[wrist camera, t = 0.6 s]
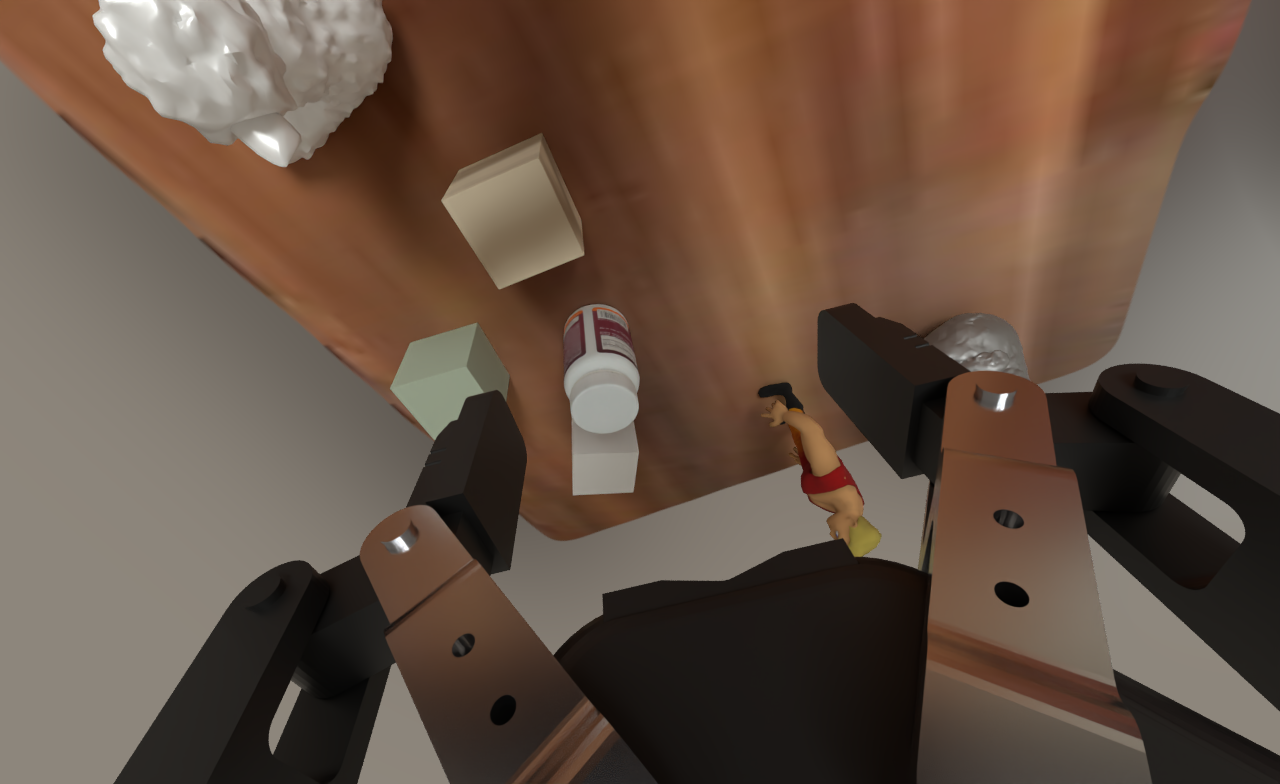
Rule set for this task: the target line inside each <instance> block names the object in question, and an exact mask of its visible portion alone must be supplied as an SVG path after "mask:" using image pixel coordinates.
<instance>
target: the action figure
mask: <svg viewBox="0 0 1280 784" xmlns="http://www.w3.org/2000/svg"><path fill="white" fill-rule="evenodd" d="M758 394H759V396H760V397H769V396H773V395H782V396H784V397H785V399H786V407H785V406H784V405H783V404H782V403H781V402H780V401H779V400H776V401H775V402H776V404H775V403H772V407H773V409H772V408H769V407H766V410H767V411H769V412H770V414H761V416H762V417H766V418H772V419H774V422H770V423H769V426H771V427H775V426H778V425H779V424H781V425H782V424H785V423H788V426H789V428H790V430H791V433H792V437H793V440H794V443H795V445H796V447H797V448H798V449H797V448H796V447H794V448H793V449H794V451H795V452H796V453H797V454H798V455H799V457H798V456H795V455H794V454H792V453H789V456H790V457H792V458H794V459H795V460H794V461H795V462H797V463H798V464H799V465H801V466H802V469H803V473H802V475H801V487H802V490H803V492H804V493H806V494H807V495H808V498H809V501H810V502H812V503H813V504H815V505H816V506H818V507H820V508H822V509H824V510H826V511H829V512H832V513H835V514H833V515H832V516H830V517H829V518H828V519H827V523H828V525H829V528H830V530H831V532H830V535H831V536H832V537H833V538H834V539H835V540H837V539H841V538H843V539H844V540H845V542H846V544H847V545H848V547H849V549H850V550H851V552H852V554H853V555H854V557H863V556H864V555H865V554H867V553H869V552H870V551H871V550H873V549H874V548H876V547H877V545H878V543H879V542H880V539H881V534H880V533H879V531H878V530H877V529H876V528H875V527H874V526H872V525H871V524H870V523H869V522H868V521H867V520H866V519H865V518H864V517H863V516H862V515H863V505H864V501H863V498H862V495H861V493H860V491H859V489H858V487H857V485H856V484H855V481H854V480H853V478H852V476H851V474H850V473H849V471H848V470H847V469H846V467H845V466H844V465H843V462H842V460H841V459H840V458H839V457H838V456H837V454H836V451H835V450H834V448H833V446H832V445H831V444H830V443H829V442H828V441H827V439H826V438H825V436H824V432H823V429H822V428H821V426H820V425H819V424H817V423H816V422H815V421H814V420H813V419H812V418H811V417H810V416H808V415H806V414H805V413H804V411H803V405H802V404H801V403H800V402H799V400H798V399H797V398H796V397H795V395H794V394H793V393H792V387H791V385H790V384H789V383H780V384H773V385H769V386H765V387H763V388H761V389H760V390H759V392H758Z"/></svg>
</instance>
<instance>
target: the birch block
mask: <svg viewBox="0 0 1280 784" xmlns="http://www.w3.org/2000/svg"><path fill="white" fill-rule="evenodd" d="M441 201H442V203H443V204H444V206H445V207H446V209H447V210H448V212H449V214H450V215H451V217H452V218H453V220H454V221H455V223H456V224H457V226H458V227H459V229H460V230H461V232H462V234H463V235H464V237H465V238H466V240H467V241H468V243H469V244H470V246H471V247H472V249H473V251H474V252H475V254H476V255H477V257H478V258H479V260H480V261H481V263H482V264H483V266H484V267H485V269H486V271H487V272H488V274H489V275H490V277H491V278H492V280H493V281H494V283H495V284H496V286H497V287H498V289H502V288H504V287H507V286H509V285H512V284H514V283H517V282H519V281H522V280H524V279H527V278H529V277H532V276H534V275H536V274H539V273H541V272H544V271H546V270H549V269H551V268H554V267H556V266H559V265H561V264H564V263H566V262H569V261H571V260H574V259H576V258H579V257H581V256H583V255H584V245H583V233H582V222H581V218H580V216H579V214H578V212H577V209H576V207H575V205H574V203H573V200H572V198H571V196H570V194H569V192H568V189H567V187H566V185H565V183H564V180H563V178H562V176H561V174H560V171H559V169H558V167H557V165H556V163H555V160H554V158H553V156H552V154H551V151H550V149H549V147H548V145H547V143H546V140H545V138H544V136H543V134H542V133H540V134H538V135H536V136H534V137H532V138H529V139H527V140H525V141H523V142H520V143H518V144H516V145H514V146H511V147H509V148H507V149H505V150H503V151H500V152H498V153H496V154H494V155H491V156H489V157H487V158H485V159H482V160H480V161H478V162H476V163H474V164H471V165H469V166H467V167H465V168H462V169H460V170H459V171H458V173H457V174H456V176H455V178H454V180H453V181H452V183H451V185H450V186H449V188H448V190H447V192H446V193H445V195H444V197H443V198H442V200H441Z"/></svg>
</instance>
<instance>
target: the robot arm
mask: <svg viewBox="0 0 1280 784" xmlns="http://www.w3.org/2000/svg"><path fill="white" fill-rule="evenodd" d="M818 373H819V377H820V380H821V383H822V385H823V387H824V389H825V390H826V391H827V393H828V394H829V395H830V396H831V397H832V398H833V400H834V401H835V402H836V403H837V404H838V405H839V407H840V408H841V409H842V410H843V411H844V412H845V414H846V415H847V416H848V417H849V418H850V419H851V421H852V422H853V423H854V424H855V425H856V426H857V428H858V429H859V430H860V431H861V432H862V434H863V435H864V436H865V437H866V438H867V439H868V441H869V442H870V443H871V444H872V445H873V446H874V448H875V449H876V450H877V451H878V452H879V453H880V454H881V456H882V457H883V458H884V459H885V460H886V462H887V463H888V464H889V465H890V466H891V467H892V469H893V470H894V471H895V472H896V473H897V474H898V476H899V477H900V478H901V479H904V478H908V477H913V476H917V475H921V474H925V475H926V476H927V477H928V479H929V480H930V481H929V486H928V491H927V500H926V508H925V516H924V524H923V532H922V540H921V550H920V557H919V564H918V569H915V568H913V567H910V566H906V565H903V564H900V563H897V562H892V561H888V560H883V559H877V558H868V557H854V555H853V554H852V552H851V550H850V549H849V547H848V545H847V544H846V542H845V540H844V539H843V538H841V539H837V540H833V541H828V542H824V543H820V544H815V545H811V546H807V547H802V548H798V549H794V550H790V551H785V552H782V553H780V554H778V555H777V556H775V557H773V558H771V559H769V560H767V561H765V562H763V563H761V564H759V565H757V566H755V567H753V568H751V569H749V570H747V571H745V572H743V573H741V574H740V575H737V576H736V577H734V578H731V579H729V580H725V581H664V580H661V581H657V582H652V583H648V584H644V585H639V586H635V587H631V588H626V589H623V590H618V591H614V592H609V593H605V594H603V615H601V616H600V617H598V618H595V619H594V620H593V621H591V622H589V623H588V624H586V625H585V626H583V627H582V628H581V629H580V630H579V631H577V632H576V633H575V634H573V635H572V636H571V637H570V638H569V639H568V640H567V641H566V642H565V643H564V644H563V645H562V646H561V647H560V648H559V649H558V650H557V652H556V653H555V654H554V655H552V653H551V652H550V651H549V650H548V648H547V647H546V646H545V645H544V643H543V642H542V641H541V640H540V638H539V637H538V636H537V635H536V634H535V632H534V631H533V630H532V629H531V627H530V626H529V625H528V624H527V622H526V621H525V620H524V618H523V617H522V616H521V615H520V614H519V612H518V611H517V610H516V609H515V607H514V606H513V605H512V603H511V602H510V601H509V600H508V598H507V597H506V596H505V595H504V593H503V592H502V591H501V590H500V588H499V587H498V586H497V585H496V583H495V582H494V581H493V580H492V578H491V577H490V575H491V574H494V573H499V572H502V571H507V570H510V567H511V561H512V554H513V547H514V541H515V534H516V528H517V521H518V515H519V508H520V502H521V495H522V489H523V482H524V476H525V469H526V463H527V453H526V447H525V443H524V440H523V437H522V435H521V433H520V431H519V429H518V427H517V424H516V422H515V420H514V418H513V416H512V414H511V412H510V409H509V407H508V405H507V403H506V401H505V399H504V397H503V395H502V394H501V392H500V391H498V390H494V391H490V392H486V393H481V394H477V395H473V396H469V397H467V398H466V399H465V402H464V404H463V407H462V409H461V412H460V414H459V417H458V419H457V420H454V421H451V422H450V423H449V424H448V425H447V426H446V427H445V428H444V429H443V430H442V431H441V433H440V434H439V435H438V436H437V437H436V440H435V442H434V444H433V447H432V449H431V451H430V452H431V454H430V455H429V456H428V459H427V461H426V463H425V467H424V468H423V470H422V472H421V474H420V476H419V479H418V481H417V483H416V486H415V488H414V491H413V493H412V495H411V497H410V500H409V502H408V504H407V506H406V508H404V509H402V510H400V511H397V512H395V513H394V514H392V515H390V516H389V517H387V518H386V519H384V520H383V521H382V522H380V523H379V524H378V525H377V526H376V527H375V528H374V529H373V530H372V531H371V533H369V535H368V536H367V537H366V539H365V541H364V542H363V544H362V547H361V550H360V555H359V556H357V557H355V558H353V559H351V560H349V561H346V562H344V563H342V564H340V565H338V566H336V567H334V568H332V569H330V570H328V571H326V572H324V573H322V574H319V573H318V572H317V571H316V570H315V569H314V568H313V567H312V566H311V565H310V564H309V563H307V562H305V561H300V560H299V561H291V562H287V563H284V564H281V565H279V566H277V567H275V568H273V569H271V570H269V571H267V572H266V573H264V574H262V575H261V576H259V577H258V578H257V579H255V580H254V581H253V582H251V583H250V584H249V585H248V586H247V587H246V588H245V589H244V590H243V591H242V592H240V593H239V595H238V596H237V597H236V598H235V599H234V600H233V601H232V603H231V604H230V606H229V607H228V608H227V610H226V611H225V613H224V615H223V616H222V618H221V619H220V621H219V622H218V624H217V625H216V627H215V628H214V630H213V631H212V633H211V634H210V636H209V638H208V639H207V641H206V642H205V644H204V645H203V647H202V649H201V650H200V651H199V653H198V655H197V656H196V658H195V659H194V661H193V662H192V664H191V665H190V667H189V668H188V670H187V671H186V673H185V675H184V676H183V678H182V679H181V681H180V682H179V684H178V685H177V687H176V688H175V690H174V691H173V693H172V695H171V696H170V698H169V699H168V701H167V702H166V704H165V705H164V707H163V708H162V710H161V712H160V713H159V714H158V716H157V718H156V719H155V721H154V722H153V724H152V725H151V727H150V728H149V730H148V732H147V733H146V734H145V736H144V738H143V739H142V741H141V742H140V744H139V745H138V747H137V748H136V750H135V752H134V753H133V755H132V756H131V758H130V759H129V761H128V762H127V764H126V765H125V767H124V769H123V770H122V772H121V773H120V774H119V776H118V778H117V779H116V781H115V782H114V784H357V783H358V779H359V775H360V772H361V768H362V765H363V762H364V758H365V755H366V751H367V748H368V744H369V741H370V737H371V734H372V730H373V727H374V723H375V720H376V717H377V713H378V710H379V706H380V702H381V699H382V696H383V692H384V689H385V685H386V682H387V678H388V675H389V671H390V667H391V665H392V664H394V663H397V666H398V668H399V670H400V672H401V675H402V677H403V679H404V681H405V683H406V686H407V688H408V690H409V693H410V695H411V697H412V699H413V702H414V704H415V706H416V708H417V710H418V713H419V715H420V717H421V720H422V722H423V724H424V726H425V729H426V731H427V733H428V736H429V738H430V740H431V742H432V744H433V747H434V749H435V751H436V753H437V756H438V758H439V760H440V763H441V765H442V767H443V769H444V772H445V774H446V776H447V778H448V780H449V783H450V784H1280V756H1279V755H1277V754H1276V753H1274V752H1272V751H1270V750H1268V749H1266V748H1264V747H1262V746H1260V745H1258V744H1256V743H1254V742H1252V741H1251V740H1249V739H1247V738H1245V737H1243V736H1241V735H1239V734H1237V733H1235V732H1233V731H1231V730H1229V729H1227V728H1226V727H1223V726H1222V725H1220V724H1218V723H1216V722H1214V721H1212V720H1210V719H1208V718H1206V717H1204V716H1202V715H1201V714H1199V713H1197V712H1195V711H1193V710H1191V709H1189V708H1187V707H1185V706H1183V705H1181V704H1179V703H1177V702H1175V701H1174V700H1172V699H1170V698H1168V697H1166V696H1164V695H1162V694H1160V693H1158V692H1156V691H1154V690H1152V689H1150V688H1148V687H1147V686H1145V685H1143V684H1141V683H1139V682H1137V681H1135V680H1133V679H1131V678H1129V677H1127V676H1125V675H1123V674H1122V673H1120V672H1118V671H1116V670H1114V669H1113V668H1112V663H1111V657H1110V652H1109V647H1108V641H1107V636H1106V631H1105V625H1104V620H1103V615H1102V609H1101V604H1100V599H1099V593H1098V588H1097V582H1096V577H1095V572H1094V567H1093V561H1092V556H1091V550H1090V545H1089V540H1088V534H1089V536H1090V537H1092V538H1093V539H1094V540H1095V541H1096V542H1097V543H1098V544H1099V545H1100V546H1102V548H1103V549H1104V550H1106V551H1107V552H1108V553H1109V554H1110V555H1111V556H1112V557H1113V558H1114V559H1115V560H1116V561H1118V562H1119V563H1120V564H1121V565H1122V566H1123V567H1124V568H1125V569H1126V570H1127V571H1128V572H1129V573H1130V574H1132V575H1133V576H1134V577H1135V578H1136V579H1137V580H1138V581H1139V582H1141V584H1142V585H1143V586H1145V587H1146V588H1147V589H1148V590H1149V591H1150V592H1151V593H1152V594H1153V595H1154V596H1155V597H1156V598H1158V599H1159V600H1160V601H1161V602H1162V603H1163V604H1164V605H1165V606H1166V607H1167V608H1168V609H1170V610H1171V611H1172V612H1173V613H1174V614H1175V615H1176V616H1177V617H1178V618H1179V619H1180V620H1182V622H1184V623H1185V624H1186V625H1187V626H1188V627H1189V628H1190V629H1191V630H1192V631H1193V632H1195V634H1197V635H1198V636H1199V637H1200V638H1201V639H1202V640H1203V641H1204V642H1205V643H1206V644H1207V645H1208V646H1210V647H1211V648H1212V649H1213V650H1214V651H1215V652H1216V653H1217V654H1218V655H1219V656H1220V657H1222V658H1223V659H1224V660H1225V661H1226V662H1227V663H1228V664H1229V665H1230V666H1231V667H1232V668H1233V669H1235V670H1236V671H1237V672H1238V673H1239V674H1240V675H1241V676H1242V677H1243V678H1244V679H1245V680H1246V681H1248V682H1249V683H1250V684H1251V685H1252V686H1253V687H1254V688H1255V689H1256V690H1257V691H1258V692H1259V693H1260V694H1262V695H1263V696H1264V697H1265V698H1266V699H1267V700H1268V701H1269V702H1270V703H1271V704H1273V705H1274V706H1275V707H1276V708H1277V709H1278V710H1279V711H1280V414H1279V413H1277V412H1275V411H1273V410H1271V409H1269V408H1267V407H1264V406H1262V405H1260V404H1258V403H1256V402H1254V401H1252V400H1250V399H1247V398H1246V397H1243V396H1241V395H1239V394H1237V393H1235V392H1233V391H1231V390H1229V389H1227V388H1225V387H1222V386H1220V385H1218V384H1216V383H1214V382H1212V381H1210V380H1208V379H1206V378H1203V377H1201V376H1199V375H1197V374H1194V373H1191V372H1188V371H1184V370H1181V369H1177V368H1172V367H1167V366H1161V365H1153V364H1124V365H1117V366H1114V367H1110V368H1108V369H1106V370H1104V371H1103V372H1102V373H1101V374H1100V376H1099V378H1098V380H1097V383H1096V385H1095V387H1094V390H1093V392H1073V393H1044V391H1043V390H1042V389H1041V388H1040V387H1039V386H1038V385H1036V384H1035V383H1033V382H1031V381H1029V380H1027V379H1025V378H1023V377H1020V376H1017V375H1013V374H1010V373H1005V372H998V371H973V372H971V371H970V370H968V369H967V368H965V367H964V366H962V365H961V364H959V363H958V362H956V361H955V360H954V359H952V358H951V357H949V356H948V355H946V354H945V353H943V352H942V351H940V350H939V349H937V348H936V347H935V346H933V345H929V342H927V341H926V340H924V339H923V338H921V337H920V336H919V337H917V334H916V333H914V332H913V331H911V330H910V329H908V328H907V327H905V326H904V325H903V324H901V323H897V322H894V321H891V320H888V319H885V318H881V317H878V318H875V317H873V316H872V315H871V314H869V313H868V312H866V311H865V310H864V309H862V308H861V307H860V306H858V305H857V304H855V303H850V304H846V305H842V306H838V307H834V308H830V309H826V310H822V311H821V312H820V313H819V316H818ZM1180 474H1183V475H1184V476H1186V477H1187V478H1189V479H1191V480H1192V481H1193V482H1195V483H1196V484H1198V485H1199V486H1201V487H1202V488H1204V489H1205V490H1207V491H1208V492H1210V493H1211V494H1213V495H1214V496H1216V497H1217V498H1219V499H1220V500H1222V501H1224V502H1225V503H1226V504H1228V505H1229V506H1230V507H1231V508H1232V509H1233V510H1235V512H1236V513H1237V514H1238V515H1239V517H1240V518H1241V520H1242V522H1243V524H1244V527H1245V538H1244V540H1243V542H1242V543H1241V544H1240V543H1238V542H1237V541H1235V540H1234V539H1233V538H1231V537H1230V536H1229V535H1227V534H1226V533H1224V532H1223V531H1222V530H1220V529H1219V528H1217V527H1216V526H1215V525H1213V524H1212V523H1210V522H1209V521H1207V520H1206V519H1205V518H1203V517H1202V516H1201V515H1199V514H1198V513H1196V512H1195V511H1194V510H1192V509H1191V508H1189V507H1188V506H1187V505H1185V504H1184V503H1182V502H1181V501H1180V500H1178V499H1176V498H1175V497H1174V496H1173V495H1171V494H1170V493H1169V492H1170V490H1171V489H1172V487H1173V485H1174V484H1175V482H1176V481H1177V479H1178V477H1179V476H1180ZM290 680H291V681H293V682H294V683H295V684H297V685H298V686H299V687H301V688H302V689H301V691H300V694H299V696H298V698H297V701H296V703H295V705H294V708H293V710H292V712H291V714H290V717H289V719H288V721H287V724H286V726H285V728H284V730H283V733H282V735H281V737H280V740H279V742H278V745H277V747H276V749H275V751H274V754H273V755H272V753H271V751H270V748H269V741H268V739H269V730H270V725H271V723H272V720H273V718H274V715H275V713H276V711H277V709H278V707H279V704H280V702H281V700H282V698H283V696H284V694H285V691H286V689H287V687H288V685H289V683H290Z"/></svg>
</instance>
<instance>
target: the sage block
mask: <svg viewBox="0 0 1280 784" xmlns="http://www.w3.org/2000/svg"><path fill="white" fill-rule="evenodd" d="M509 378H510V375H509V374H508V372H507V370H506V369H505V367H504V365H503V364H502V362H501V360H500V359H499V357H498V355H497V354H496V352H495V350H494V349H493V347H492V345H491V344H490V342H489V340H488V339H487V337H486V335H485V334H484V332H483V330H482V329H481V327H480V325H479V324H478V322H477V323H474V324H471V325H467V326H464V327H461V328H457V329H454V330H451V331H447V332H444V333H441V334H437V335H434V336H431V337H427V338H424V339H421V340H417V341H414V342H411V343H410V344H409V347H408V349H407V351H406V353H405V356H404V358H403V360H402V363H401V365H400V367H399V369H398V372H397V374H396V376H395V378H394V381H393V383H392V385H391V388H390V389H391V390H392V392H393V393H394V394H395V395H396V396H397V397H398V399H399V400H400V401H401V402H402V403H403V404H404V406H405V407H406V408H407V409H408V410H409V411H410V412H411V414H412V415H413V416H414V417H415V418H416V419H417V421H418V422H419V423H420V424H421V425H422V426H423V428H424V429H425V430H426V431H427V432H428V433H429V434H430V436H431V437H432V438H433V439H434V440H436V437H437V436H438V435H439V434H440V433H441V431H442V430H443V429H444V428H445V427H446V426H447V425H448V424H449V423H450V422H451V421H454V420H457V419H458V417H459V414H460V412H461V409H462V407H463V404H464V402H465V399H466V398H467V397H469V396H473V395H477V394H481V393H486V392H490V391H494V390H498V391H500V392H501V394H502V395H503V397H504V399H505V401H506V399H507V392H508V385H509Z"/></svg>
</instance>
